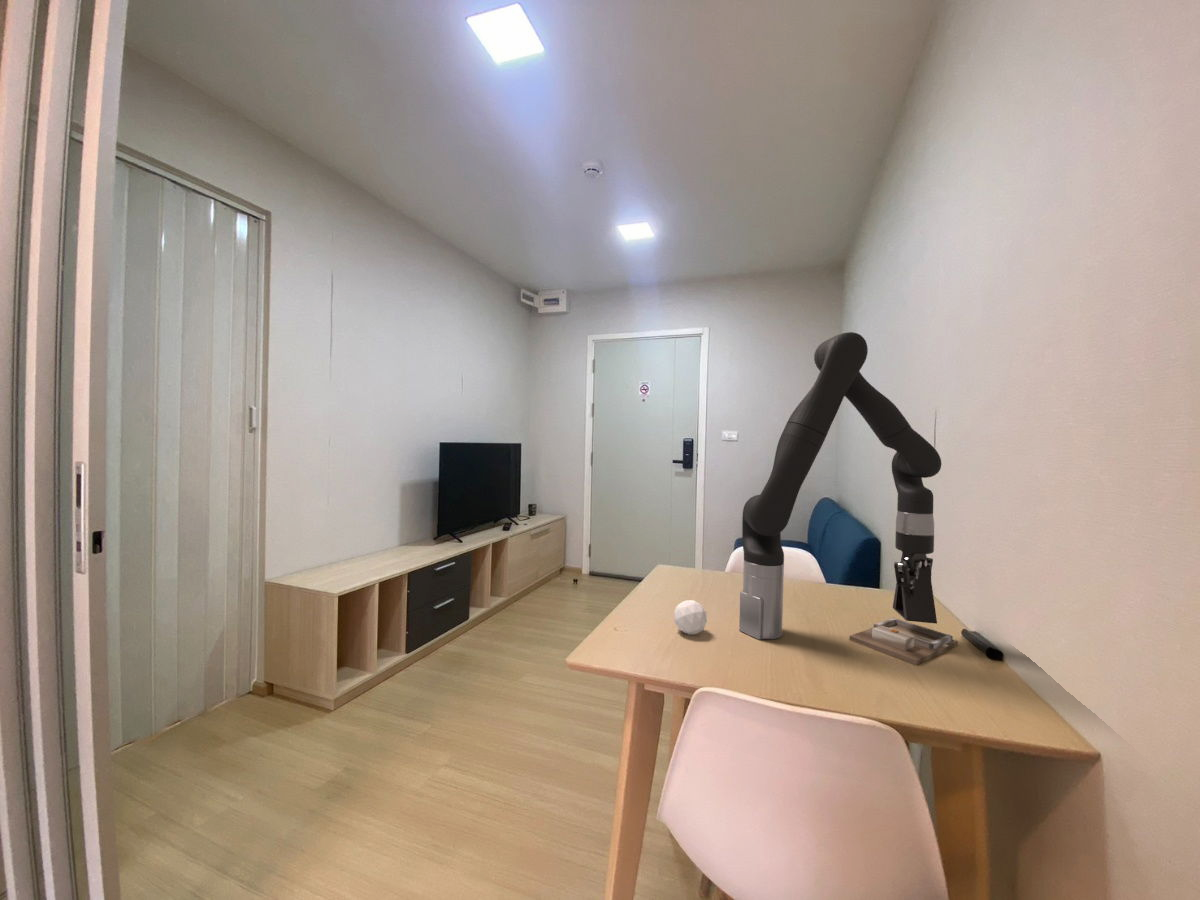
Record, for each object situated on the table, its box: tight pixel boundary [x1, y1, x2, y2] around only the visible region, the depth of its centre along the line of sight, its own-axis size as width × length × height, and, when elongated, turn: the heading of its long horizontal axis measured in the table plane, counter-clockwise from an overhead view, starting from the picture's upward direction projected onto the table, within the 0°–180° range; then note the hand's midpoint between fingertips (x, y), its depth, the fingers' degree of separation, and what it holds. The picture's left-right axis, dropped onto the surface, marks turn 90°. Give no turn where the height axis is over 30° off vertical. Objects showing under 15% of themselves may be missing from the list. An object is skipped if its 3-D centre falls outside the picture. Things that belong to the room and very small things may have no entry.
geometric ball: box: [673, 599, 708, 635], centre depth 107 cm, size 8×8×8 cm
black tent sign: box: [892, 566, 938, 625], centre depth 106 cm, size 9×6×12 cm, turn 164°
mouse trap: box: [849, 617, 959, 666], centre depth 104 cm, size 20×14×4 cm
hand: (913, 602), depth 106 cm, fingers closed on black tent sign, 4 cm apart
